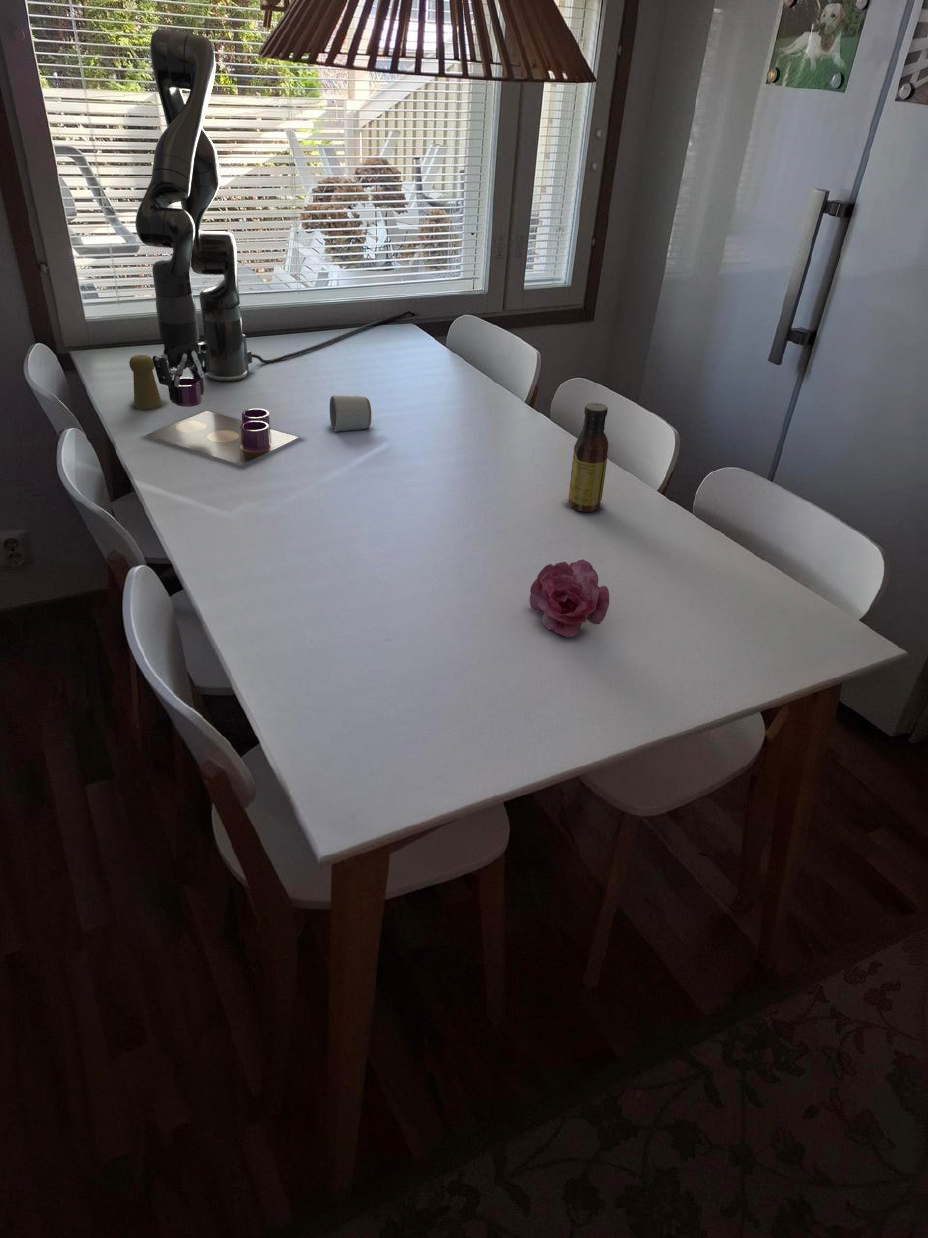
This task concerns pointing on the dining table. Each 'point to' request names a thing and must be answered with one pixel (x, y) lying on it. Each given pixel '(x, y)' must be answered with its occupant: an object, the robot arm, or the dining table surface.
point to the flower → (569, 597)
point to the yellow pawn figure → (144, 383)
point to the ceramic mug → (350, 412)
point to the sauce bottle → (589, 461)
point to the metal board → (216, 437)
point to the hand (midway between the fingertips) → (187, 398)
